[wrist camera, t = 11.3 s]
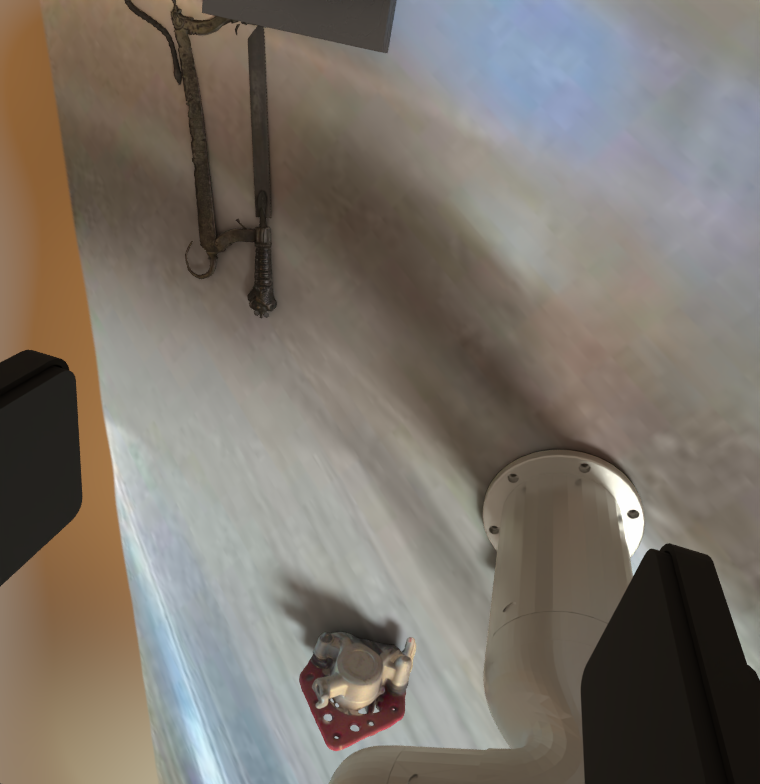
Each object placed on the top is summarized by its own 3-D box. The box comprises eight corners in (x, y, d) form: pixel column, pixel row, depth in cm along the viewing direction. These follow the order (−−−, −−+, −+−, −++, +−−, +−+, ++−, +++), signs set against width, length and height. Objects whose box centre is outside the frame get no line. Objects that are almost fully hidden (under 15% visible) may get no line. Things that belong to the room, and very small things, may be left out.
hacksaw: (280, 316, 50) (272, 322, 49) (164, 302, 52) (154, 307, 51) (266, -47, 39) (256, -51, 38) (119, -47, 41) (105, -51, 40)
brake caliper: (299, 694, 67) (274, 734, 56) (330, 598, 68) (311, 617, 57) (395, 730, 65) (390, 777, 54) (424, 630, 67) (424, 657, 56)
